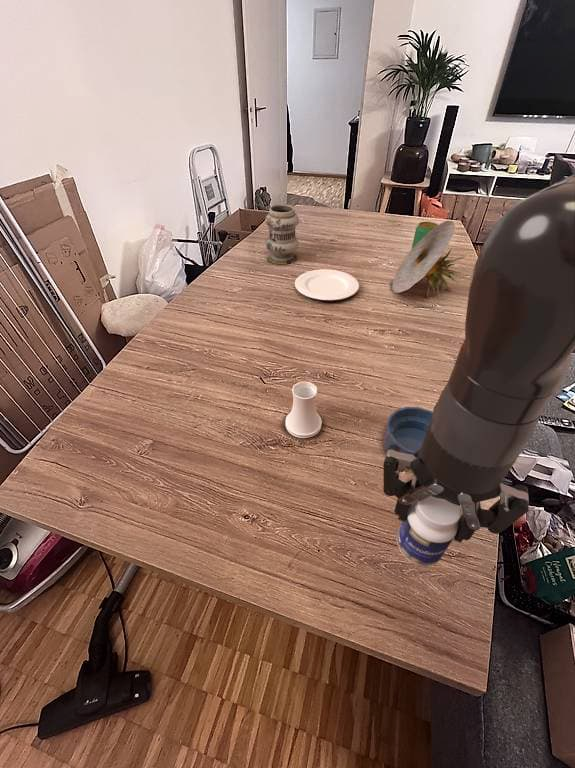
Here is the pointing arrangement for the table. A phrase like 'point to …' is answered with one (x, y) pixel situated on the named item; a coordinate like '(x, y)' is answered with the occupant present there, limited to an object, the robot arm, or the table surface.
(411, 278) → the potted plant
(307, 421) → the vase
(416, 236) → the beverage can
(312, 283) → the plate
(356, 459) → the table surface
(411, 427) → the bowl
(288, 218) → the apothecary jar
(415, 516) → the pill bottle
